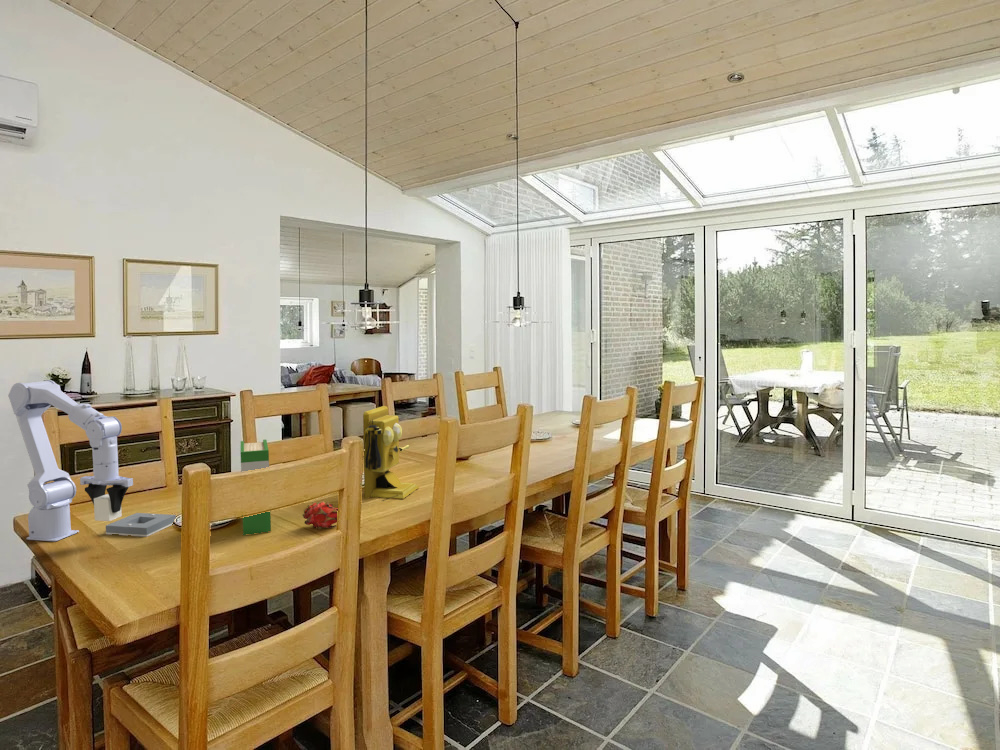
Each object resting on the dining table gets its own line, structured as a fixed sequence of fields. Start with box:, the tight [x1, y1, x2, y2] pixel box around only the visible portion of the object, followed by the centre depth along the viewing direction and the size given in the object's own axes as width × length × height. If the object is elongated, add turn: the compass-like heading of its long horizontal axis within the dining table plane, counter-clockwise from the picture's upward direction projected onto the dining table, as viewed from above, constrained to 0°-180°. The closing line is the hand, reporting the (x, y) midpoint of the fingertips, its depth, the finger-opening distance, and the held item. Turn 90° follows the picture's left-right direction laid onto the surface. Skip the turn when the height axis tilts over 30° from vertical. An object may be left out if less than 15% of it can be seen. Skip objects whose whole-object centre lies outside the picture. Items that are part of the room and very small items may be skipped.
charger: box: [93, 493, 123, 522], centre depth 166 cm, size 4×4×6 cm
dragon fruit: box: [302, 500, 338, 530], centre depth 180 cm, size 8×8×12 cm
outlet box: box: [105, 512, 177, 538], centre depth 179 cm, size 13×12×3 cm
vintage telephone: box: [362, 405, 420, 502], centre depth 216 cm, size 31×14×30 cm, turn 167°
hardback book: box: [239, 439, 272, 536], centre depth 182 cm, size 18×7×24 cm, turn 23°
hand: (108, 511), depth 166 cm, fingers closed on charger, 4 cm apart
